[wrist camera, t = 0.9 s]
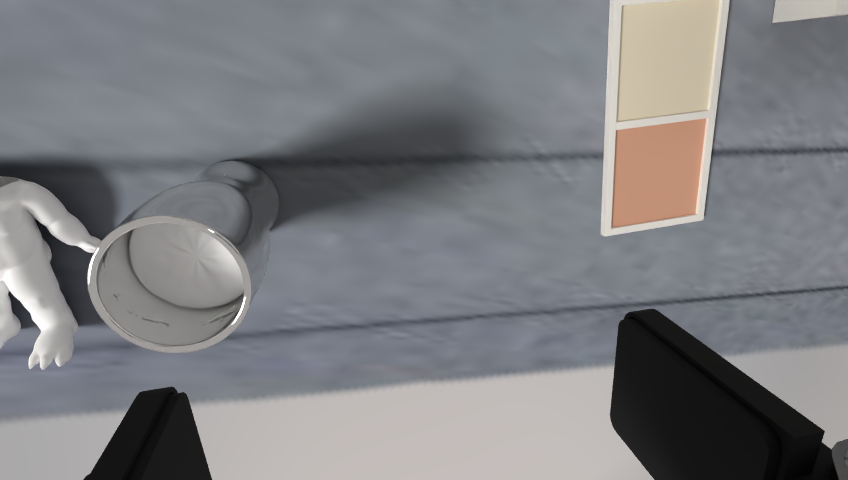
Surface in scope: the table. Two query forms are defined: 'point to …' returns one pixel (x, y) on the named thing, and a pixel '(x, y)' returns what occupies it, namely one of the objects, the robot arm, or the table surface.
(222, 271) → the beer glass
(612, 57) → the board
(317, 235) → the table surface
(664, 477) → the robot arm
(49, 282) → the toy creature
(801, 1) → the die
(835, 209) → the table surface
